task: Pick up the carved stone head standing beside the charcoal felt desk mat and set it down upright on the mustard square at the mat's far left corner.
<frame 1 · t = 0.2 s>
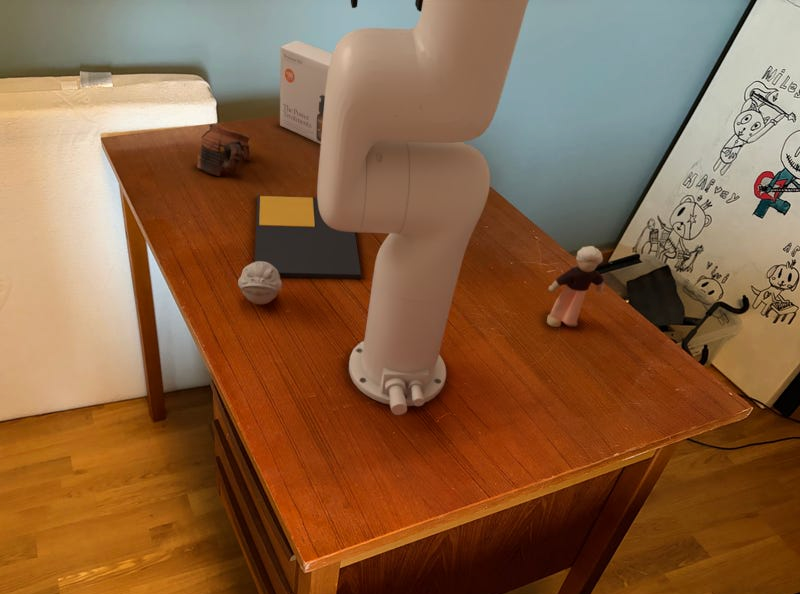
hand: (386, 6, 101), 31 cm above the table, tool pointing down, fingers open, 9 cm apart
carved stone head: (260, 302, 99), on the table
pottery mug: (225, 168, 127), on the table
desk mat: (305, 236, 112), on the table
grandmother figurine: (564, 321, 100), on the table
white product box: (325, 141, 137), on the table
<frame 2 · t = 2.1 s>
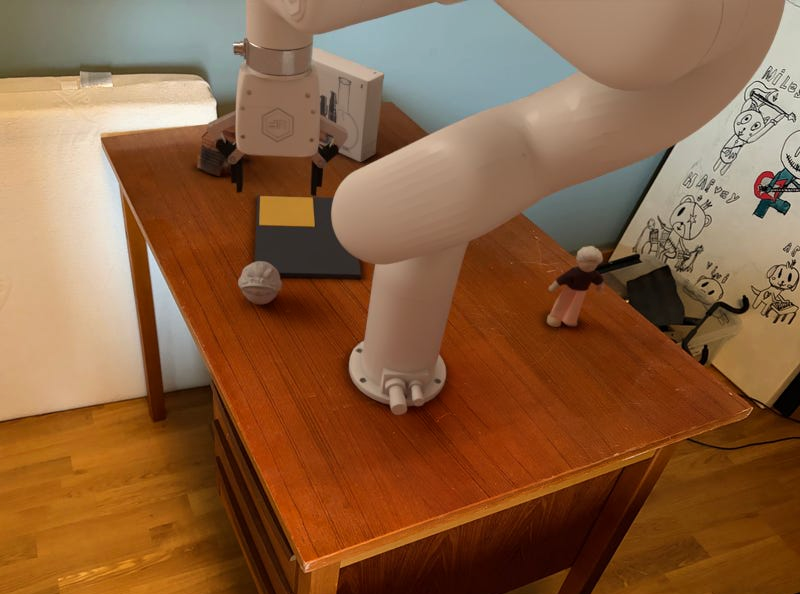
hand: (276, 189, 91), 16 cm above the table, tool pointing down, fingers open, 9 cm apart
nothing on the table moved.
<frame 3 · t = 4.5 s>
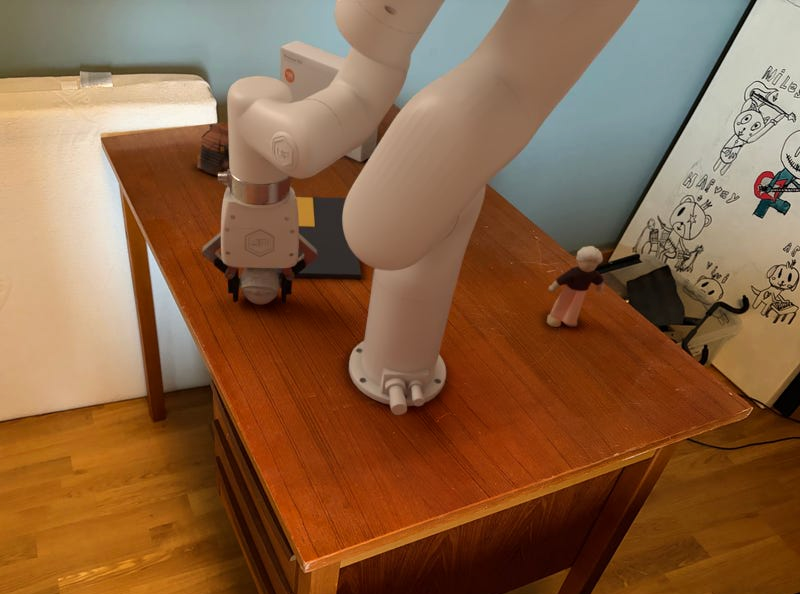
hand: (260, 295, 98), 1 cm above the table, tool pointing down, fingers closed on carved stone head, 6 cm apart
carved stone head: (260, 302, 99), on the table, touching gripper
everything else where it was.
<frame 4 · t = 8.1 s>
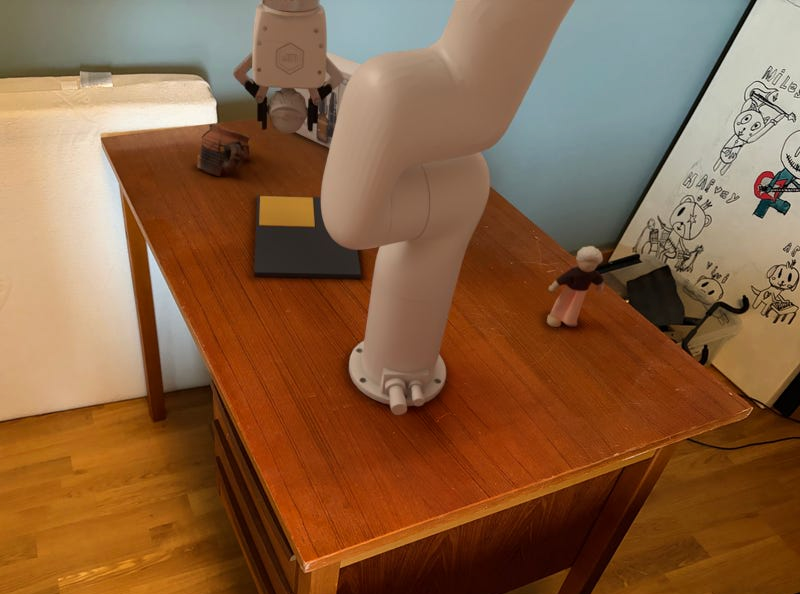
hand: (287, 125, 103), 17 cm above the table, tool pointing down, fingers closed on carved stone head, 6 cm apart
carved stone head: (287, 133, 104), point 16 cm above the table, touching gripper
everything else where it was.
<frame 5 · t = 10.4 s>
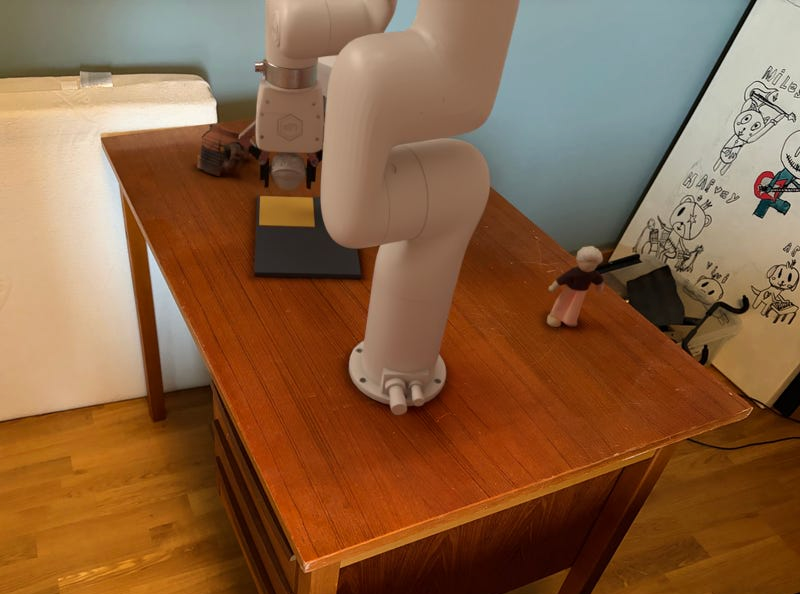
hand: (287, 183, 112), 6 cm above the table, tool pointing down, fingers closed on carved stone head, 6 cm apart
carved stone head: (287, 190, 113), point 5 cm above the table, touching gripper
everything else where it was.
when the fingers open (2 cm above the table, at t = 11.9 s): carved stone head stays where it is, resting on desk mat.
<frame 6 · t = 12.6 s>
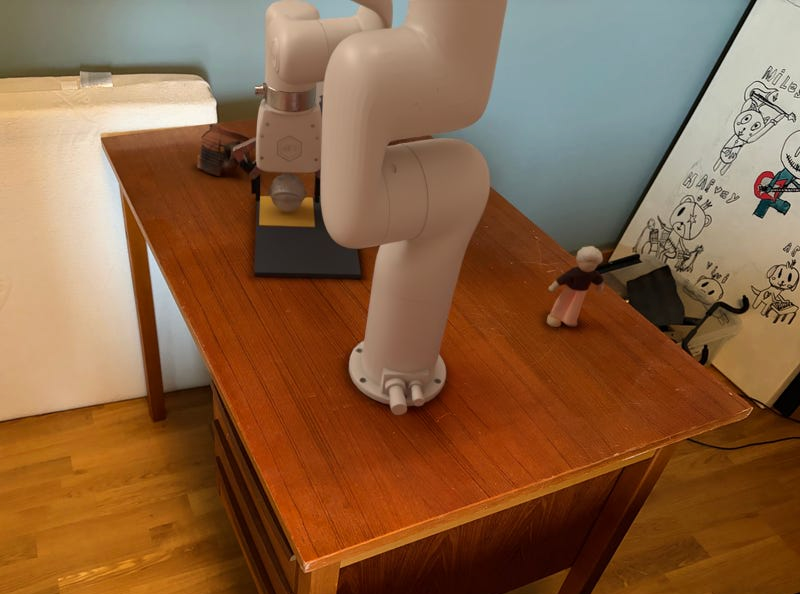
hand: (287, 198, 113), 3 cm above the table, tool pointing down, fingers open, 9 cm apart
carved stone head: (286, 211, 115), point 1 cm above the table, touching desk mat
everything else where it was.
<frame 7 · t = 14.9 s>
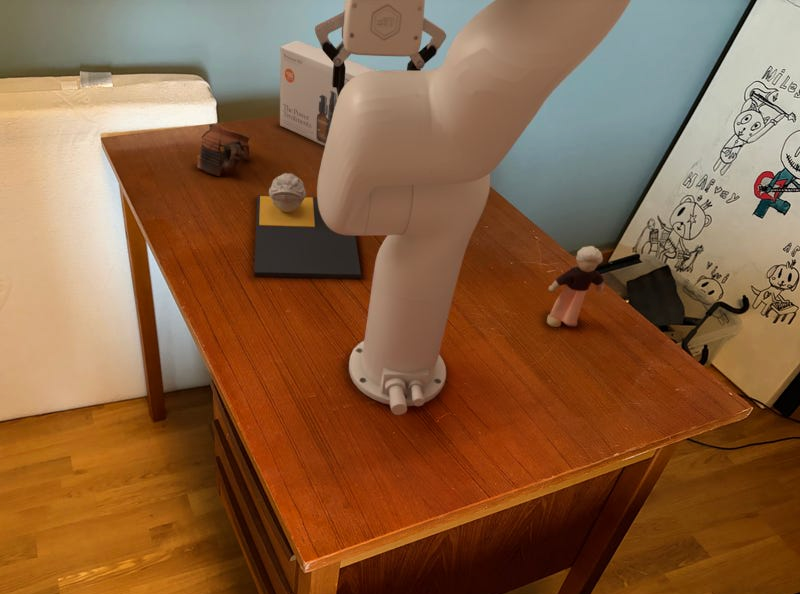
hand: (374, 93, 96), 24 cm above the table, tool pointing down, fingers open, 9 cm apart
nothing on the table moved.
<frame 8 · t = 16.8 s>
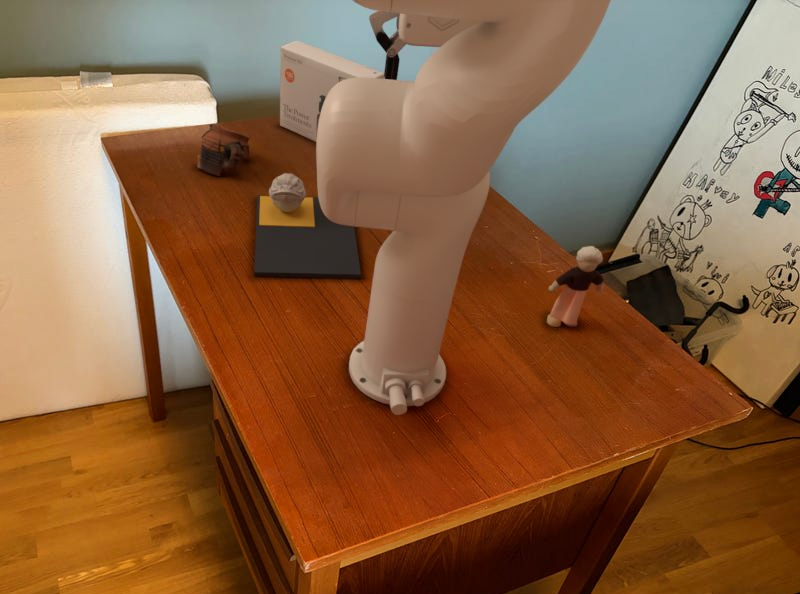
hand: (427, 86, 93), 26 cm above the table, tool pointing down, fingers open, 9 cm apart
nothing on the table moved.
at the end: carved stone head inside the target area on the desk mat (0.5 cm from its centre), point 0.8 cm above the desk mat's base; carved stone head tilted 0° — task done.
